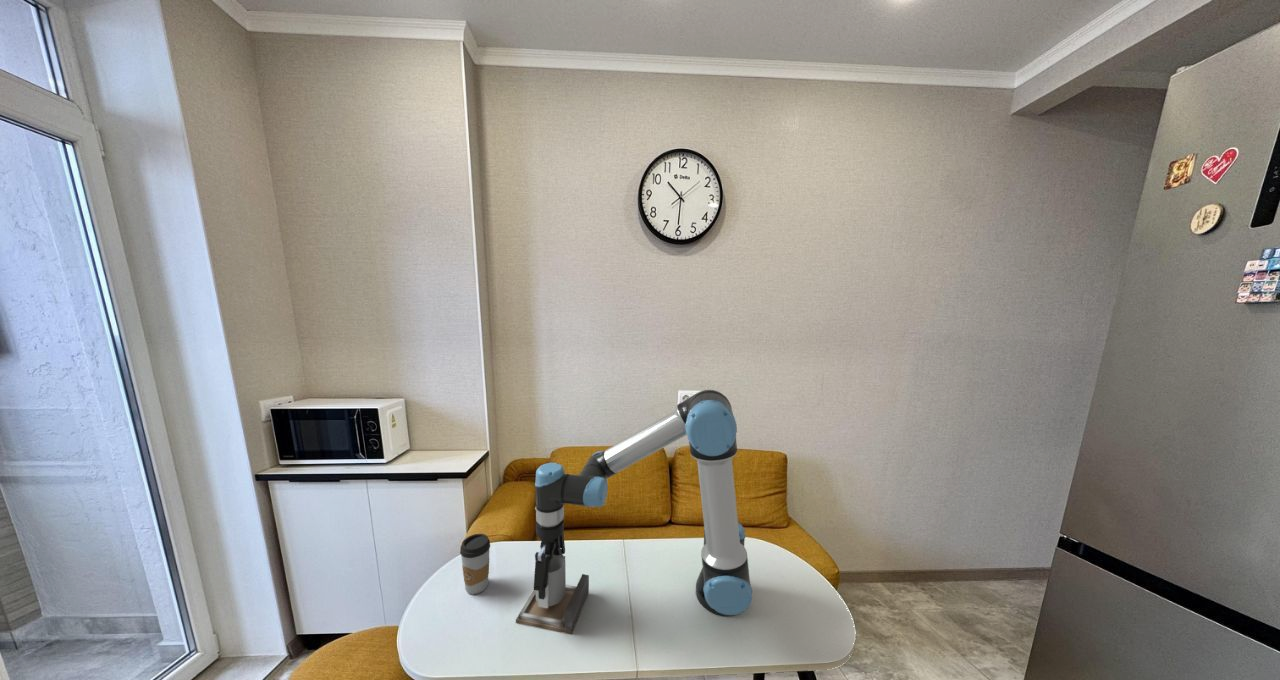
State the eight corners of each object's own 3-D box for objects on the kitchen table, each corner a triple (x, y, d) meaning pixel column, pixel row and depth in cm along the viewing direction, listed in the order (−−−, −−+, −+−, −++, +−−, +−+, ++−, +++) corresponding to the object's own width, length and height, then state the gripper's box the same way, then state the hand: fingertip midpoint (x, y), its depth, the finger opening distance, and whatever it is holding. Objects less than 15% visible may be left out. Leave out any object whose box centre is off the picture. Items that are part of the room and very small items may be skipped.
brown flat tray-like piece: (588, 593, 114) (588, 575, 113) (571, 634, 100) (571, 614, 99) (539, 584, 117) (539, 566, 116) (515, 622, 103) (515, 603, 102)
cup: (558, 608, 103) (557, 575, 102) (530, 603, 105) (529, 570, 103) (569, 585, 111) (569, 554, 110) (543, 580, 113) (543, 549, 112)
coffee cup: (455, 592, 113) (453, 546, 111) (476, 573, 121) (475, 529, 119) (476, 601, 110) (475, 554, 108) (497, 581, 117) (496, 536, 116)
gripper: (553, 497, 116) (553, 565, 119) (518, 542, 95) (519, 622, 98) (576, 500, 115) (576, 569, 118) (545, 546, 94) (546, 628, 97)
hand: (550, 593), depth 108 cm, fingers closed on cup, 8 cm apart
